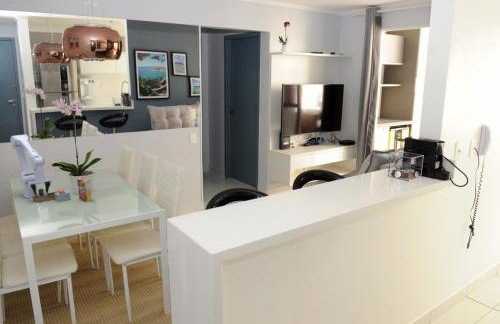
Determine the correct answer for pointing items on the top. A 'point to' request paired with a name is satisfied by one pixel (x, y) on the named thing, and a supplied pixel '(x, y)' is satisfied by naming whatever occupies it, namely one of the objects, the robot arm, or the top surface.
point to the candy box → (84, 189)
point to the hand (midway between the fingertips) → (41, 193)
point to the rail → (47, 198)
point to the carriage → (41, 193)
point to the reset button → (61, 191)
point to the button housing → (62, 196)
